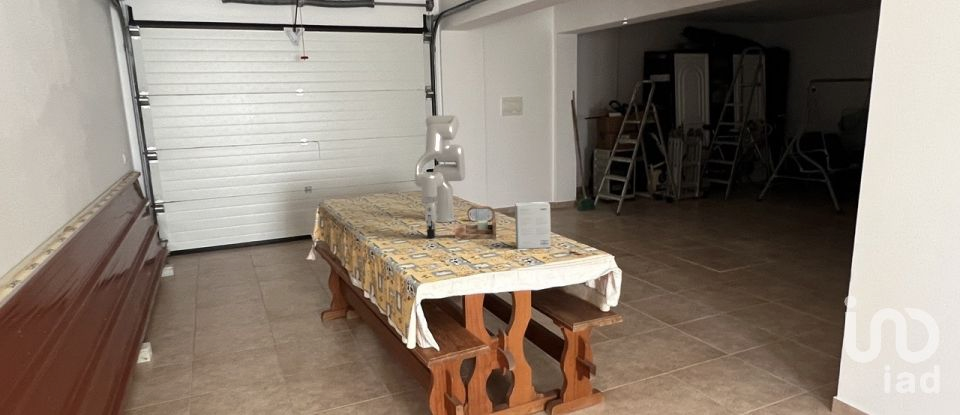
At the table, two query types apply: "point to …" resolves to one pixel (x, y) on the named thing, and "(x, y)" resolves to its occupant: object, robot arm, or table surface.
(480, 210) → the tin
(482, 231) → the lane rack
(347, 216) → the table surface
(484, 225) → the sage block
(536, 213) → the hard drive box
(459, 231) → the pull block
